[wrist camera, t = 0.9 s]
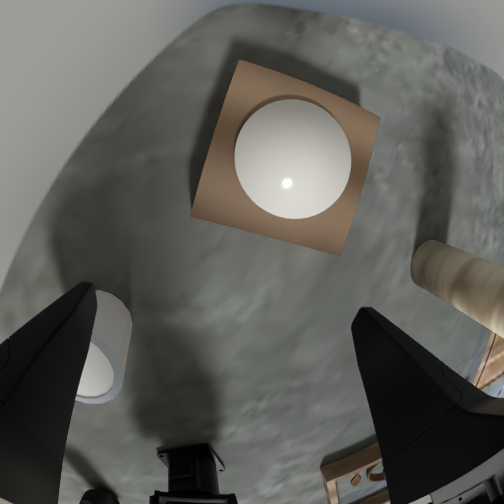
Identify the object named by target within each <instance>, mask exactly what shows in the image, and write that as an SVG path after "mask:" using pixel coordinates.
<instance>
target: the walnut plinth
mask: <svg viewBox="0 0 504 504" xmlns="http://www.w3.org/2000/svg"><path fill="white" fill-rule="evenodd" d="M380 118H381V117H379V116H377V115H375V114H373V113H371V112H369V111H368V110H366V109H364V108H362V107H360V106H358V105H356V104H354V103H352V102H349V101H347V100H345V99H343V98H341V97H339V96H337V95H334V94H332V93H330V92H328V91H325V90H323V89H321V88H318V87H316V86H314V85H311V84H309V83H306V82H304V81H301V80H299V79H296V78H294V77H291V76H288V75H285V74H283V73H280V72H277V71H274V70H271V69H268V68H265V67H262V66H259V65H256V64H253V63H250V62H247V61H243V60H240V59H239V61H238V64H237V67H236V69H235V72H234V75H233V78H232V80H231V83H230V86H229V89H228V92H227V95H226V98H225V101H224V104H223V106H222V109H221V112H220V116H219V119H218V122H217V125H216V128H215V131H214V134H213V137H212V141H211V144H210V147H209V150H208V154H207V157H206V160H205V164H204V167H203V171H202V174H201V178H200V181H199V185H198V188H197V192H196V195H195V199H194V203H193V206H192V210H191V214H190V216H191V217H195V218H199V219H203V220H206V221H210V222H214V223H218V224H222V225H226V226H230V227H234V228H237V229H241V230H245V231H249V232H253V233H256V234H260V235H264V236H268V237H272V238H275V239H279V240H283V241H286V242H290V243H294V244H298V245H301V246H305V247H309V248H312V249H316V250H319V251H323V252H327V253H330V254H334V255H338V256H341V253H342V250H343V247H344V245H345V242H346V239H347V236H348V232H349V229H350V226H351V223H352V220H353V217H354V214H355V210H356V207H357V204H358V201H359V197H360V194H361V191H362V187H363V184H364V180H365V177H366V173H367V169H368V166H369V162H370V158H371V155H372V151H373V147H374V143H375V139H376V135H377V131H378V126H379V122H380Z"/></svg>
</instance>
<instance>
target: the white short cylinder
mask: <svg viewBox="0 0 504 504" xmlns="http://www.w3.org/2000/svg"><path fill="white" fill-rule="evenodd" d="M95 291H96V297H97V312H96V317H95V321H94V326H93V331H92V336H91V341H90V346H89V351H88V355H87V358H86V362H85V365H84V368H83V372H82V376H81V379H80V383H79V387H78V391H77V395H76V399H75V400H78V401H81V402H83V403H94V404H102V403H104V402H107V401H109V400H112V399H114V398H115V397H116V396H117V394H118V393H119V392H120V391H121V389H122V386H123V379H124V373H125V366H126V360H127V354H128V349H129V343H130V338H131V332H132V325H133V323H132V319H131V315H130V312H129V311H128V309H127V308H126V306H125V305H124V303H123V302H122V301H121V300H119V299H118V298H117V297H115V296H114V295H113V294H111V293H107V292H104V291H101V290H95Z"/></svg>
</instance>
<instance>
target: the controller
mask: <svg viewBox="0 0 504 504" xmlns="http://www.w3.org/2000/svg"><path fill="white" fill-rule="evenodd" d="M79 504H120V503H119V501H118V500H117V498H116V497H115V496H114V495H113V494H112V493H111V492H109V491H106V490H102V489H90V490H88V491H86V492H85V493H84V495H83V496H82V499H81V501H80V503H79Z"/></svg>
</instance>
